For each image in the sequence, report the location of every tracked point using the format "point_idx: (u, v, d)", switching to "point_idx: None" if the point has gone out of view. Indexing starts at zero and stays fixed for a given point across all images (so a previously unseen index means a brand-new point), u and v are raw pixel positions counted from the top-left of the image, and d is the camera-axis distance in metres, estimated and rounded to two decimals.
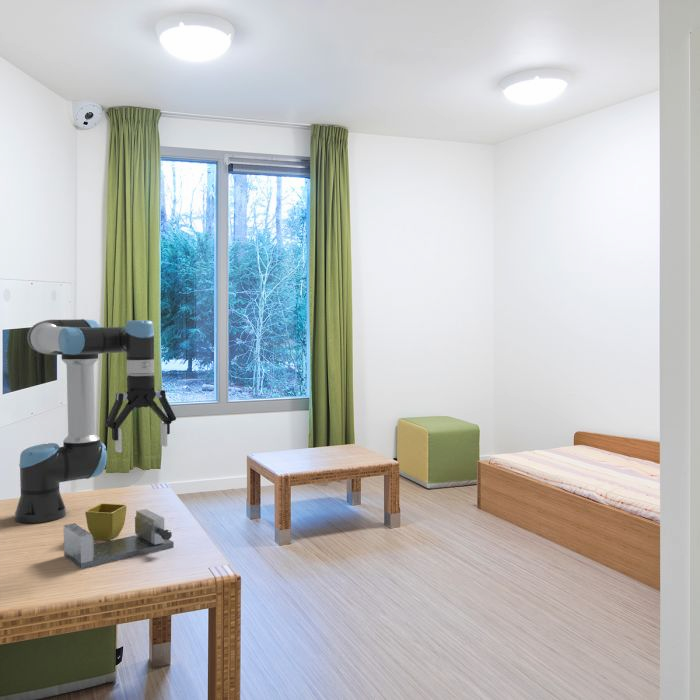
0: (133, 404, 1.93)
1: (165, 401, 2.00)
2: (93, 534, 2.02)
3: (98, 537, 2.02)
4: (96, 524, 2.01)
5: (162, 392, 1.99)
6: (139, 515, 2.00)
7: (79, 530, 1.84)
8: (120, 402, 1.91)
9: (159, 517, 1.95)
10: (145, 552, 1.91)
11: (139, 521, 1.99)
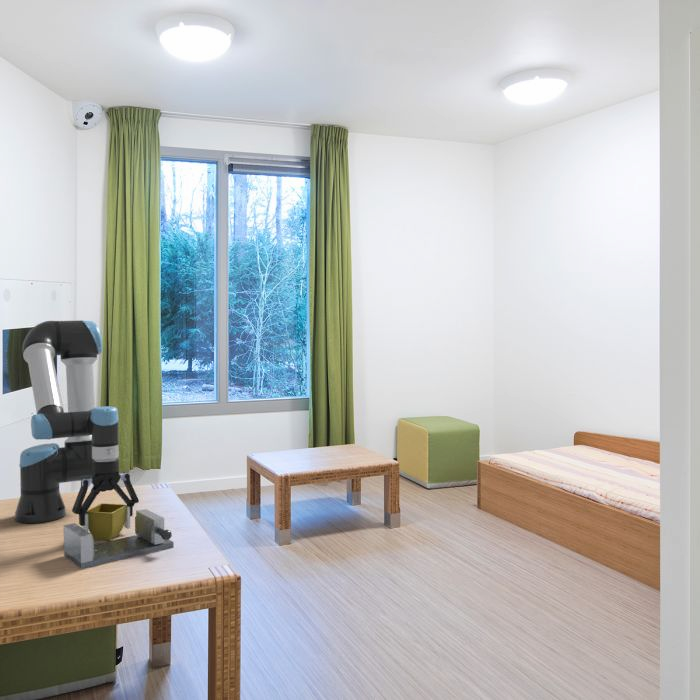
0: (98, 489, 2.01)
1: (129, 484, 2.08)
2: (93, 534, 2.02)
3: (98, 537, 2.02)
4: (96, 524, 2.01)
5: (127, 475, 2.07)
6: (139, 515, 2.00)
7: (79, 530, 1.84)
8: (85, 488, 1.99)
9: (159, 517, 1.95)
10: (145, 552, 1.91)
11: (139, 521, 1.99)
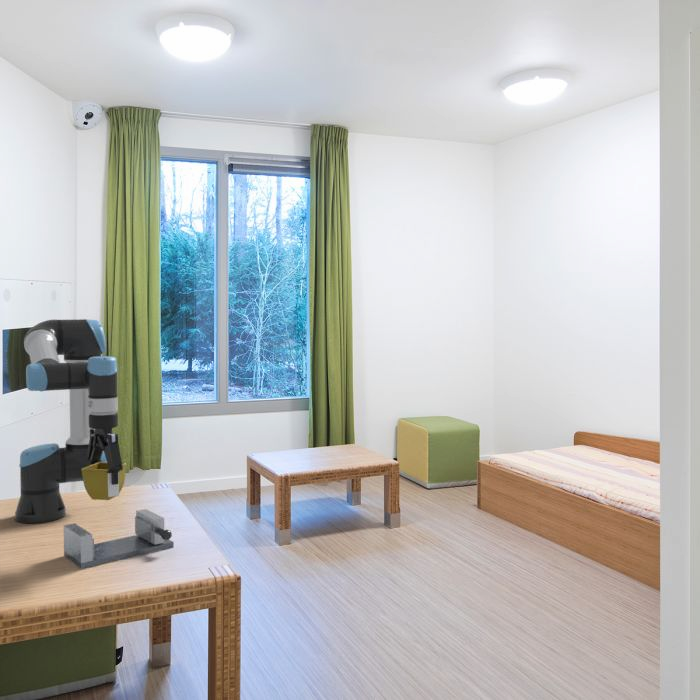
0: (93, 442, 1.90)
1: (109, 447, 1.83)
2: None
3: None
4: None
5: (107, 436, 1.83)
6: (139, 515, 2.00)
7: (79, 530, 1.84)
8: (90, 438, 1.93)
9: (159, 517, 1.95)
10: (145, 552, 1.91)
11: (139, 521, 1.99)
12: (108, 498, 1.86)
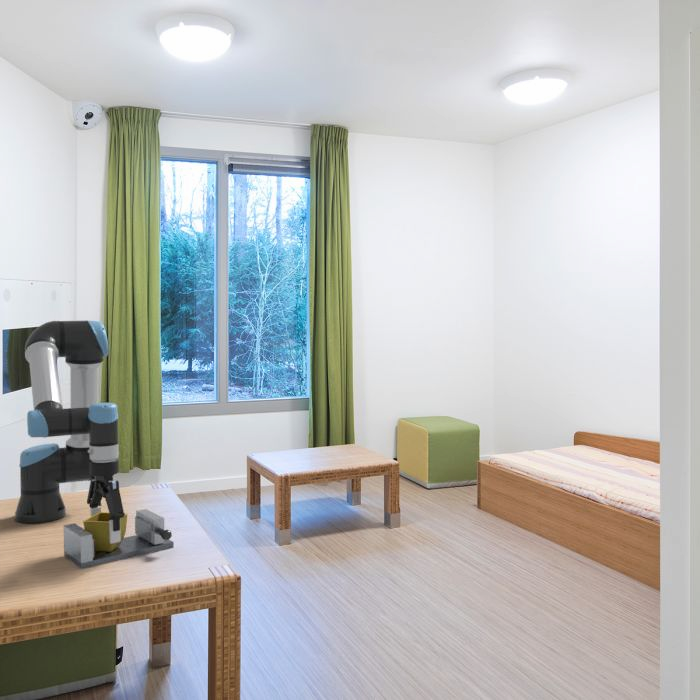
0: (94, 488, 1.90)
1: (110, 494, 1.83)
2: None
3: None
4: None
5: None
6: (139, 515, 2.00)
7: (79, 530, 1.84)
8: (91, 482, 1.93)
9: (159, 517, 1.95)
10: (145, 552, 1.91)
11: (139, 521, 1.99)
12: (110, 550, 1.87)
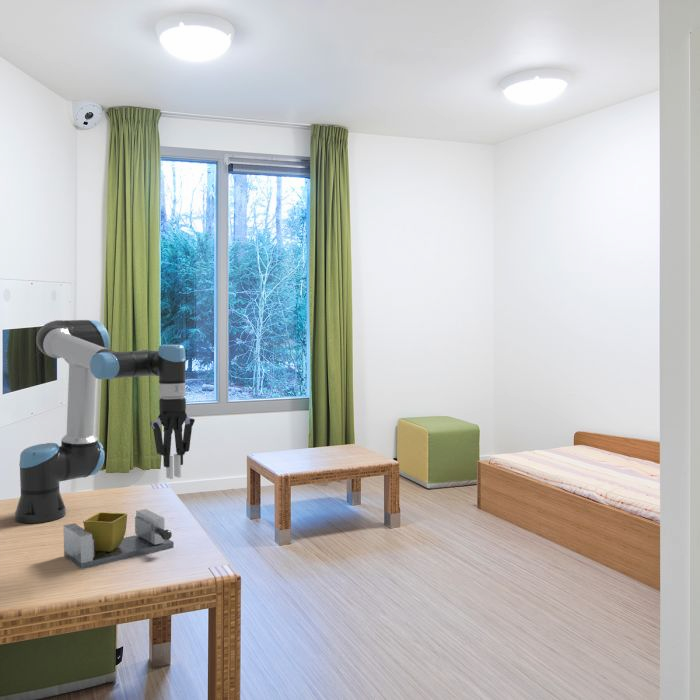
0: (170, 428, 1.99)
1: (189, 429, 2.04)
2: None
3: None
4: None
5: (192, 420, 2.04)
6: (139, 515, 2.00)
7: (79, 530, 1.84)
8: (158, 430, 1.98)
9: (159, 517, 1.95)
10: (145, 552, 1.91)
11: (139, 521, 1.99)
12: (110, 550, 1.87)
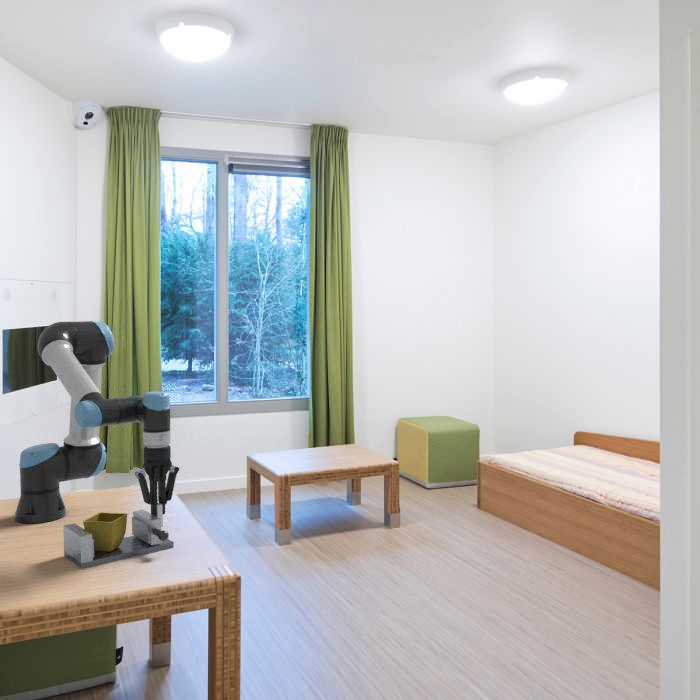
0: (155, 477, 1.97)
1: (173, 478, 2.01)
2: None
3: None
4: None
5: (176, 468, 2.02)
6: (136, 516, 1.99)
7: (79, 530, 1.84)
8: (144, 480, 1.95)
9: (156, 518, 1.94)
10: (145, 552, 1.91)
11: (136, 522, 1.98)
12: (110, 550, 1.87)
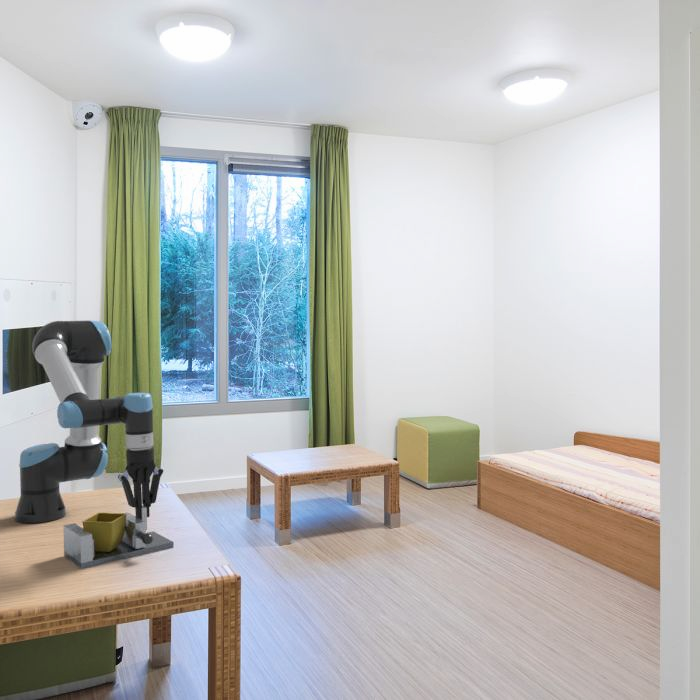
0: (138, 480, 1.94)
1: (157, 480, 1.98)
2: None
3: None
4: None
5: (160, 470, 1.99)
6: None
7: (79, 530, 1.84)
8: (127, 483, 1.92)
9: (141, 521, 1.91)
10: (145, 552, 1.91)
11: None
12: (109, 550, 1.87)
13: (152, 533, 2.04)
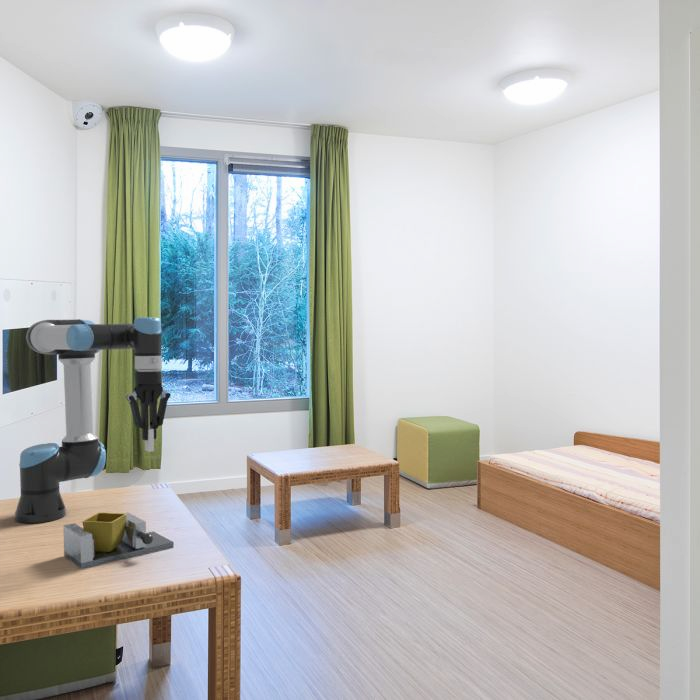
0: (146, 401, 1.99)
1: (164, 403, 2.03)
2: None
3: None
4: None
5: (168, 394, 2.03)
6: None
7: (79, 530, 1.84)
8: (135, 403, 1.97)
9: (141, 521, 1.91)
10: (145, 552, 1.91)
11: None
12: (109, 550, 1.87)
13: (152, 533, 2.04)
